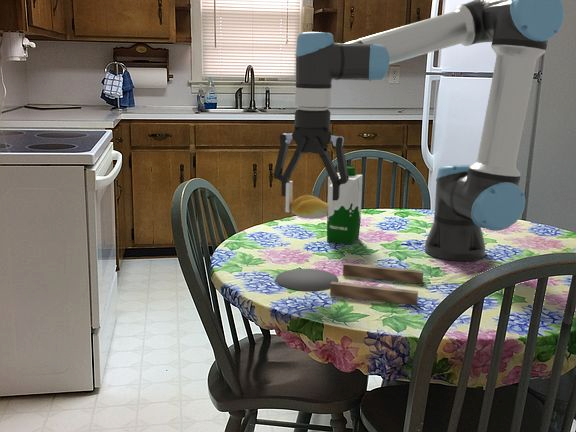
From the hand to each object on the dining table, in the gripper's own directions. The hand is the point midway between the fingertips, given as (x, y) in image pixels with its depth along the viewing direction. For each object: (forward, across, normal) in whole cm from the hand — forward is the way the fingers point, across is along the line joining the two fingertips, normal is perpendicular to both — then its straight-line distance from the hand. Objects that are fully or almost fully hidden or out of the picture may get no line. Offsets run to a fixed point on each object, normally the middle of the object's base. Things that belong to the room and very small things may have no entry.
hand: (309, 212), depth 139 cm
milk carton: (+16, -1, -35) cm, 38 cm away
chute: (+16, -16, 0) cm, 22 cm away
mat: (+16, 0, 0) cm, 16 cm away
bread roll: (+1, 0, 0) cm, 1 cm away
